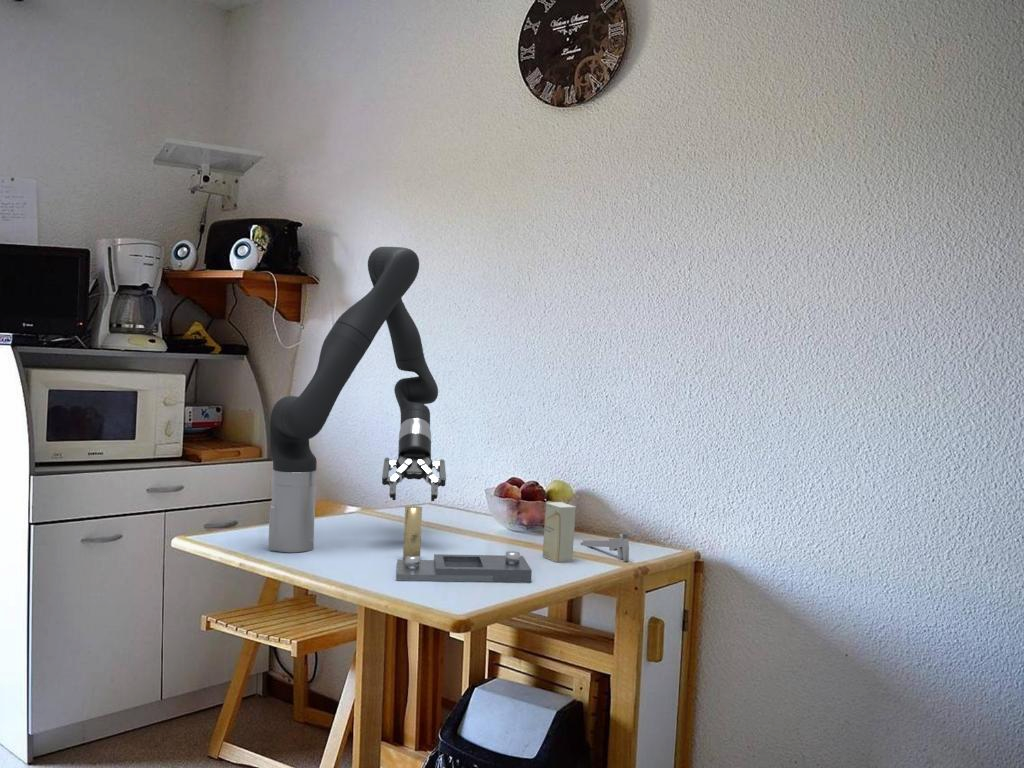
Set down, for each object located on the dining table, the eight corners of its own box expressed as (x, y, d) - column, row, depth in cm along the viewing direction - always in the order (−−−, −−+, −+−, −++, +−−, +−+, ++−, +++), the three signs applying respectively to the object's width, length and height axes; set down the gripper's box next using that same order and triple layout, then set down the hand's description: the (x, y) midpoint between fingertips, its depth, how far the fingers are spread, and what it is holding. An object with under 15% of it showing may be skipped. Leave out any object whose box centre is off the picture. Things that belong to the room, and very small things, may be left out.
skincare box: (541, 556, 197) (544, 502, 197) (559, 555, 199) (561, 501, 199) (556, 563, 191) (559, 506, 191) (574, 561, 194) (576, 505, 193)
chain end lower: (396, 580, 170) (397, 563, 170) (397, 565, 183) (397, 549, 183) (492, 581, 172) (493, 565, 172) (486, 566, 185) (487, 551, 185)
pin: (403, 560, 187) (405, 508, 187) (403, 556, 191) (405, 505, 191) (420, 560, 188) (422, 508, 188) (419, 557, 191) (421, 506, 191)
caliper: (628, 563, 196) (630, 534, 196) (624, 563, 195) (625, 535, 195) (583, 544, 214) (585, 519, 214) (579, 545, 214) (581, 519, 214)
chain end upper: (435, 581, 171) (436, 558, 171) (433, 565, 184) (434, 544, 183) (531, 582, 173) (532, 559, 173) (522, 567, 186) (523, 546, 186)
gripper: (384, 430, 204) (381, 487, 193) (446, 432, 206) (446, 489, 195) (383, 451, 209) (380, 508, 198) (444, 453, 211) (444, 509, 200)
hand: (413, 498), depth 196 cm, fingers open, 8 cm apart
